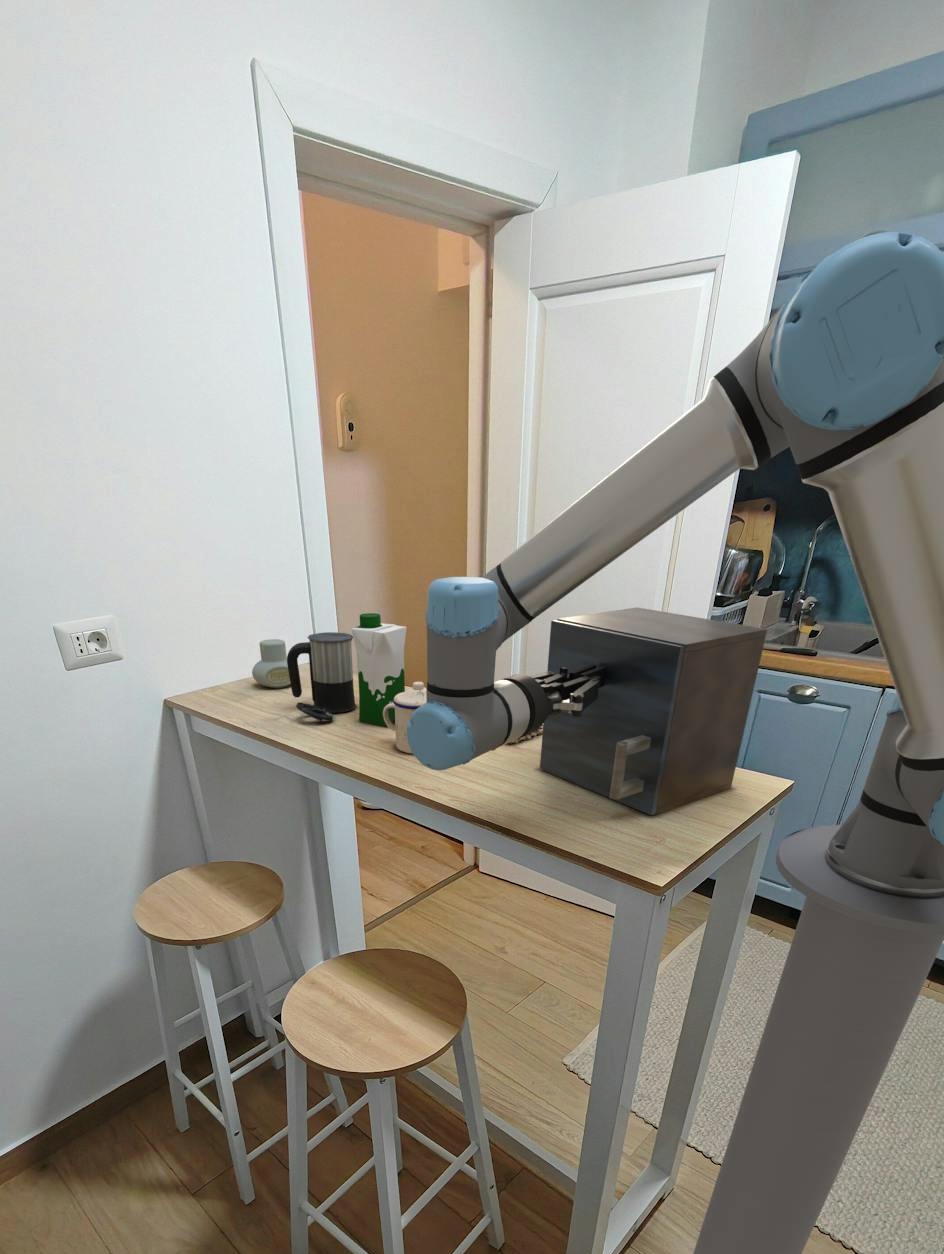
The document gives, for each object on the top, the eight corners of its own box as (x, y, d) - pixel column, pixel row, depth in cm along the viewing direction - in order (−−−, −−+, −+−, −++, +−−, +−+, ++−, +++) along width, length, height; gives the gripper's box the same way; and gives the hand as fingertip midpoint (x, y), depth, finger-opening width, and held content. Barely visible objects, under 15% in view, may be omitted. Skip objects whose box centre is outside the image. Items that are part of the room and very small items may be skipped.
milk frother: (350, 700, 158) (346, 630, 150) (370, 719, 145) (366, 644, 138) (287, 707, 154) (279, 635, 146) (302, 727, 141) (294, 650, 133)
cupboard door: (624, 825, 101) (650, 652, 88) (513, 776, 118) (522, 624, 105) (655, 814, 104) (685, 645, 92) (543, 767, 121) (555, 619, 108)
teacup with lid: (452, 743, 132) (452, 679, 126) (429, 758, 126) (428, 691, 120) (397, 734, 137) (395, 672, 131) (372, 748, 131) (368, 683, 124)
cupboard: (655, 815, 104) (685, 644, 92) (544, 768, 121) (557, 618, 109) (731, 788, 113) (767, 629, 100) (617, 747, 130) (637, 607, 117)
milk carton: (378, 711, 151) (373, 610, 140) (413, 718, 146) (411, 614, 136) (352, 721, 144) (345, 617, 134) (388, 729, 140) (384, 621, 130)
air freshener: (258, 691, 165) (252, 646, 159) (250, 683, 171) (244, 640, 166) (304, 686, 168) (299, 642, 163) (294, 678, 175) (290, 636, 170)
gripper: (461, 729, 93) (554, 693, 109) (553, 751, 86) (638, 709, 101) (462, 670, 89) (558, 641, 105) (558, 689, 82) (647, 654, 97)
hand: (598, 675), depth 103 cm, fingers closed
